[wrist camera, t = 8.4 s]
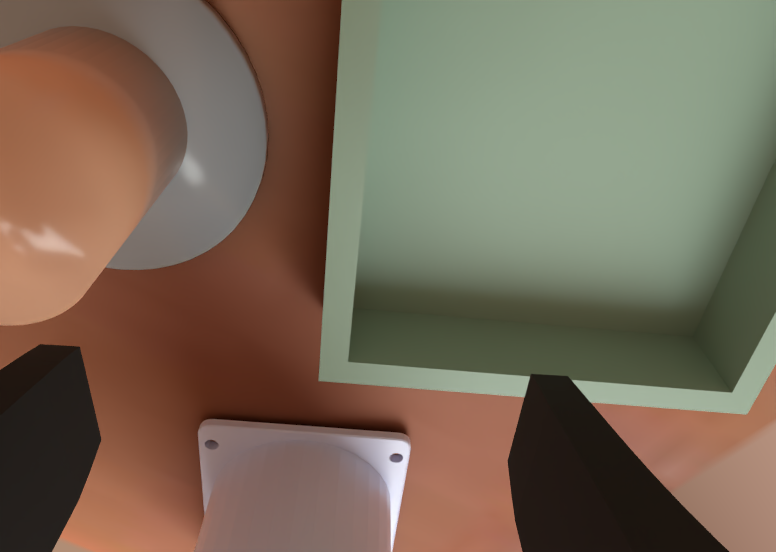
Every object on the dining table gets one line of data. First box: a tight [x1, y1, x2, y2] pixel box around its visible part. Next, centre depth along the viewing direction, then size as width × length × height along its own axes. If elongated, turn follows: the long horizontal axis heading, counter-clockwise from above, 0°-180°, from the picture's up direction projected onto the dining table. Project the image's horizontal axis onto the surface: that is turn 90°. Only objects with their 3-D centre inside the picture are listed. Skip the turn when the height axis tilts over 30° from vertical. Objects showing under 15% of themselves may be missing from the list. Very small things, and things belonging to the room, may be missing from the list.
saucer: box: [0, 0, 269, 270], centre depth 17 cm, size 9×9×1 cm
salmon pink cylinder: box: [0, 26, 188, 326], centre depth 14 cm, size 5×5×6 cm
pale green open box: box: [319, 0, 776, 414], centre depth 15 cm, size 16×13×3 cm
